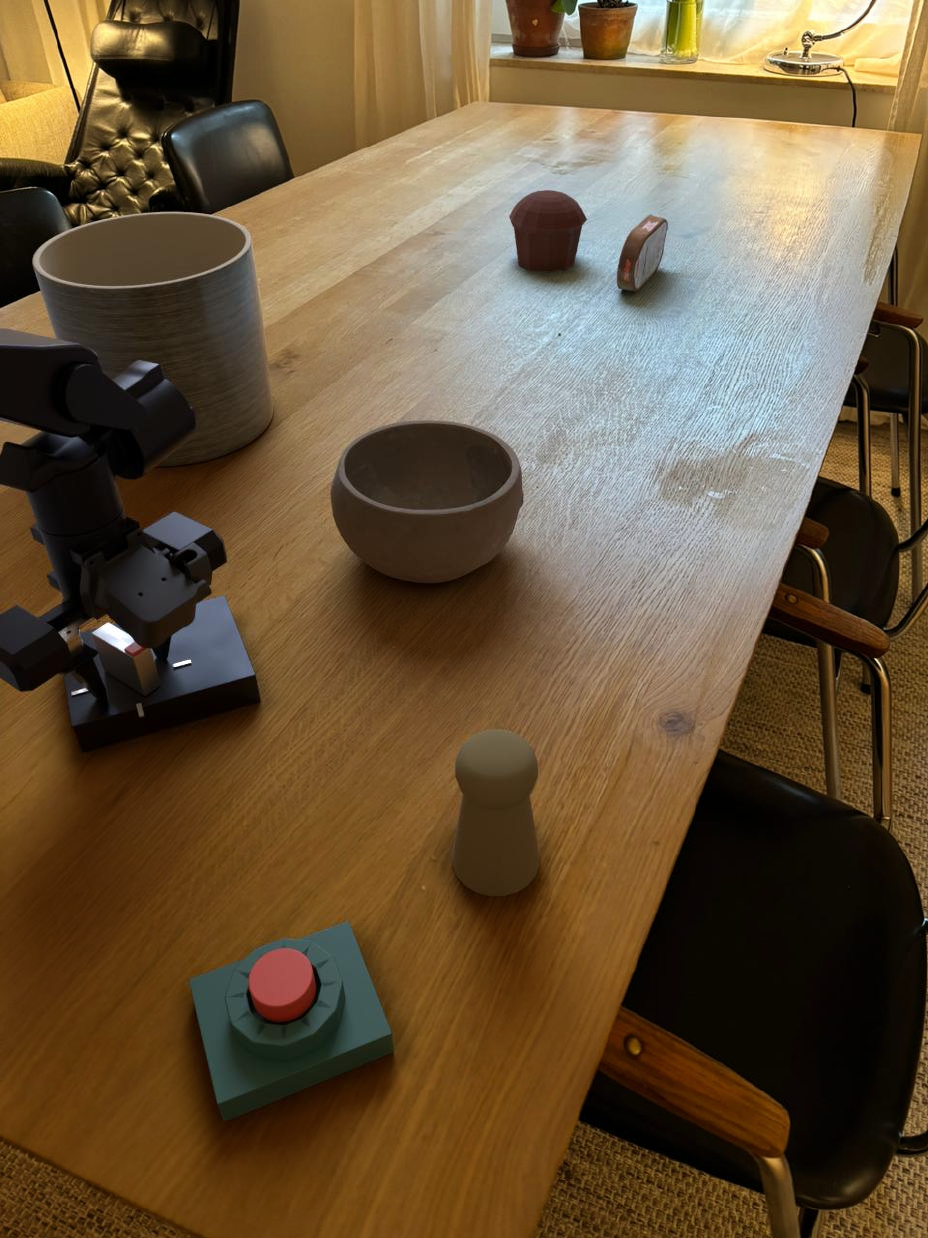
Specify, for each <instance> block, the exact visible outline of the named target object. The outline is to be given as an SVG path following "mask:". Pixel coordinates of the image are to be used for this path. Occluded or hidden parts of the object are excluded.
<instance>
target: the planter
mask: <svg viewBox="0 0 928 1238" xmlns="http://www.w3.org/2000/svg"><path fill="white" fill-rule="evenodd" d="M255 257H256V256H255V251H254V242H253V237H252V235H251V233H250V231H249V229H248V228H246V227H245V226H243V225H242V224H240V223H239V222H236V221H234V220H232V219H229V218H226V217H222V216H218V215H213V214H207V213H206V214H205V213H199V212H187V211H186V212H184V211H160V212H159V211H157V212H155V211H154V212H142V213H133V214H127V215H126V214H125V215H120V216H114V217H109V218H105V219H100V220H96V221H92V222H89V223H84V224H82V225H79V226H76V227H73V228H71V229H68V230H65V231H63V232H61V233H59V234H57V235H55V236H53V237H52V238H50V239H48V240H47V241H45V242H44V243H43V244H41V245H40V246H39V247H38V249H37V250H36V251H35V252H34V254H33V257H32V268H33V270H34V273H35V277H36V280H37V284H38V286H39V289H40V290H39V291H40V293H41V296H42V299H43V303H44V306H45V309H46V312H47V315H48V320H49V322H50V325H51V328H52V332H53V335H54V338H55V339H59V340H64V341H69V342H74V343H78V344H82V345H84V346H87V347H89V348H91V349H92V350H94V351H95V352H96V353H97V355H98V358H99V359H98V361H99V363H100V365H101V367H102V372H103V373H104V374H106V375H107V376H108V377H109V378H110V379H114V378H116V377H117V376H119V375H120V374H121V373H123V372H124V371H125V369H126V368H127V367H128V366H130V365H131V364H133V363H134V362H136V361H137V360H142V361H147V362H151V363H156V364H160V365H161V366H162V369H163V374H164V378H165V379H166V380H168V381H169V382H171V383H172V384H173V385H174V386H176V388H177V389H178V390H179V391H180V392H181V393H182V394H183V395H184V397H185V398H186V400H187V401H188V403H189V405H190V407H192V408H193V409H194V412H195V416H196V431H195V433H194V435H193V437H192V438H191V439H190V440H189V441H188V442H186V443H185V444H184V445H182V446H181V447H180V448H179V449H177V450H176V451H175V452H173V453H172V454H171V455H169V456H168V457H167V458H165V459H164V460H163V461H162V462H160V463H159V464H158V465H156V466H155V467H176V466H185V465H191V464H192V465H193V464H197V463H202V462H205V461H206V462H207V461H210V460H215V459H217V458H220V457H223V456H225V455H228V454H231V453H234V452H235V451H237V450H240V449H242V448H243V447H245V446H247V445H248V444H250V443H251V442H253V441H255V440H256V439H257V438H258V437H260V435H262V433H264V431H265V430H266V429H267V428H268V426H269V425H270V423H271V421H272V420H273V419H272V418H273V416H274V399H273V392H272V386H271V376H270V368H269V360H268V359H269V358H268V350H267V341H266V333H265V325H264V317H263V308H262V302H261V301H262V300H261V293H260V287H259V286H260V285H259V279H258V271H257V264H256V258H255Z"/></svg>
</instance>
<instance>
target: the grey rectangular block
mask: <svg viewBox="0 0 928 1238" xmlns="http://www.w3.org/2000/svg"><path fill="white" fill-rule="evenodd" d="M112 624H113V623H110V622H106V623H104V624H103V625H101V626H100V627H97V628H98V629H97V630H95V631H94V632H92V633H91V634H92V636H93V639H94V642H95V645H96V648H97V651H98V654H99V657H100V660H101V663H102V666H103V669H104V671H105V672H107V673H108V674H110V675H112V676H113V677H115V678H116V679H118V680H120V681H121V682H123V683H124V684H126V685H128V686H129V687H131V688H132V689H134V690H136V691H137V692H139V693H140V694H142V695H144V696H147V695H148V694H149V693H151V692H152V691H154V690H155V689H156V688H158V687H159V686H161V683H160V679H159V676H158V672H157V669H156V666H155V662H154V659H153V655H152V652H151V649H147V648H143V647H141V646H139V645H138V644H137V643H136V642H135V641H134V640H133V638H132V637H131V636H130V635H129V634H127V633H125V632H124V631H122V630H120V629H119V628H117V627H115V626H113V625H112Z"/></svg>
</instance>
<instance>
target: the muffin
mask: <svg viewBox="0 0 928 1238" xmlns="http://www.w3.org/2000/svg"><path fill="white" fill-rule="evenodd" d="M508 217H509V220H510V223H511V225H512V227H513V231H514V239H515V247H516V255H517V263H518V266H519V267H522V268H525V269H526V270H528V271H531V272H542V273H551V272H559V271H566V270H567V269H568V268H570V267H571V266H574V265H575V263H576V257H577V254H578V249H579V243H580V239H581V233H582V229H583V225H584V224H585V223H586V222H587V220H588V218H587V217H586V214H585V213H584V211H583V209H582V207H581V205H580V204H579V203H578V201H577V200H576V199H574V198H573V197H572V196H570V195H568V194H567V193H565V192H562V191H557V190H552V189H551V190H550V189H545V190H543V189H542V190H537V191H534V192H533V191H532V192H531V193H529V194H526V195H525V196H524V197H522V198H521V199H520V200H518V202H517V203H516V204H515V205H514V207H513V208H512V210H511V213H509V215H508Z"/></svg>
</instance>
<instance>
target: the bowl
mask: <svg viewBox="0 0 928 1238" xmlns="http://www.w3.org/2000/svg"><path fill="white" fill-rule="evenodd" d="M524 496H525V495H524V490H523V473H522V467H521V463H520V460H519V457H518V455H517V454H516V452H515V451H514V449H513V448H512V446H510V445H509V444H508V443H507V441H505V440H504V439H502V438H500V437H499V436H497V435H496V434H494V433H492V432H490V431H488V430H485V429H482V428H479V427H477V426H474V425H470V424H466V423H461V422H456V421H448V420H433V419H421V420H407V421H401V422H393V423H388V424H384V425H381V426H377V427H376V428H373V429H370V430H369V431H367V432H365V433H363V434H361V435H360V436H358V437H356V438H355V439H354V440H352V441H351V442H350V443H349V444H348V445H347V446H346V447H345V449H344V450H343V451H342V453H341V455H340V457H339V461H338V464H337V467H336V470H335V473H334V476H333V479H332V483H331V488H330V504H331V511H332V517H333V520H334V523H335V526H336V528H337V530H338V532H339V535H340V536H341V538H342V539H343V541H344V543H345V544H346V545H347V547H348V548H349V549H350V550H351V551H352V553H353V554H354V555H355V556H356V557H357V558H358V559H360V561H362V562H363V563H365V564H366V565H368V566H369V567H371V568H372V569H374V570H375V571H377V572H379V573H381V574H383V575H385V576H388V577H390V578H393V579H396V580H401V581H406V582H412V583H420V584H441V583H446V582H449V581H453V580H457V579H459V578H461V577H463V576H466V575H469V574H470V573H472V572H474V571H475V570H477V569H478V568H480V567H482V566H484V565H486V564H488V563H489V562H491V561H492V560H493V559H494V558H495V557H496V556H497V555H498V554H499V553H500V552H501V550H503V548H504V547H506V545H507V543H508V542H509V541H510V538H511V536H512V535H513V533H514V530H515V529H516V524H517V521H518V516H519V514H520V509H521V508H522V507H523V505H524Z"/></svg>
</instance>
